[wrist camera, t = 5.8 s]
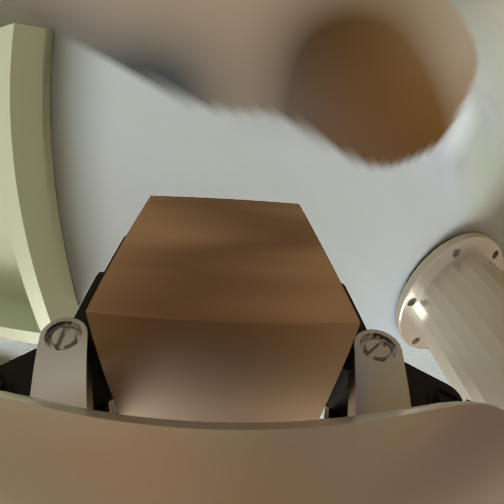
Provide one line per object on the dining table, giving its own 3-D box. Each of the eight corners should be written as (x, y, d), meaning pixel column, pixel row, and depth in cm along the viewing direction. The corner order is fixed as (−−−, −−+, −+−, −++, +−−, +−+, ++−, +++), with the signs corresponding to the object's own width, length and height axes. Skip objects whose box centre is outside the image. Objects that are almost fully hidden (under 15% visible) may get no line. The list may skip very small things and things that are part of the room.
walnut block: (298, 204, 11) (360, 322, 6) (279, 317, 13) (304, 446, 8) (150, 195, 10) (85, 311, 5) (158, 312, 13) (131, 442, 8)
